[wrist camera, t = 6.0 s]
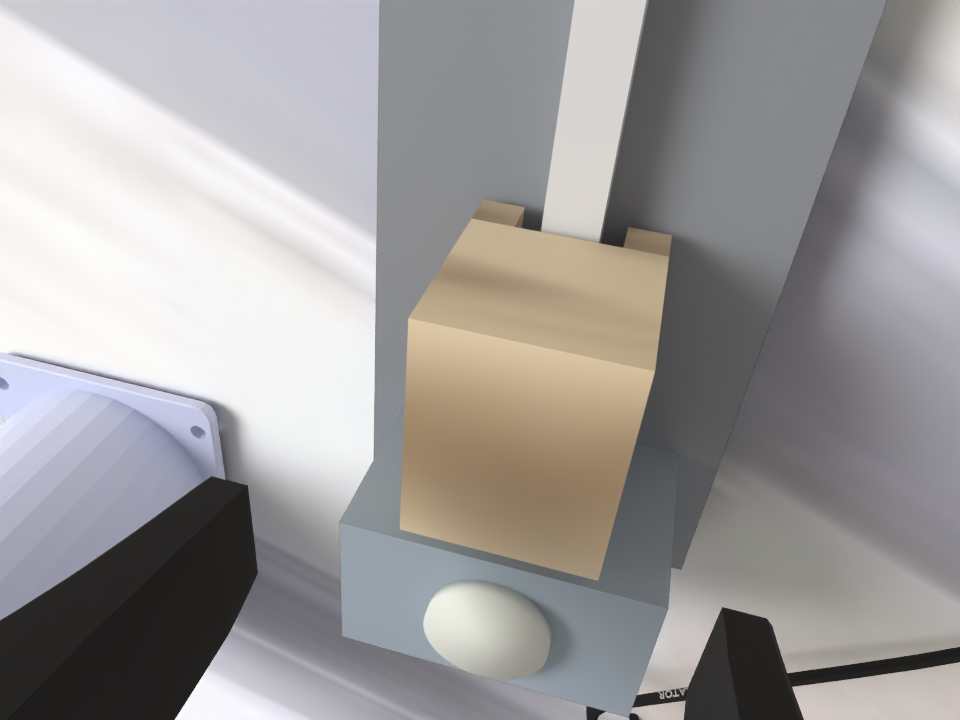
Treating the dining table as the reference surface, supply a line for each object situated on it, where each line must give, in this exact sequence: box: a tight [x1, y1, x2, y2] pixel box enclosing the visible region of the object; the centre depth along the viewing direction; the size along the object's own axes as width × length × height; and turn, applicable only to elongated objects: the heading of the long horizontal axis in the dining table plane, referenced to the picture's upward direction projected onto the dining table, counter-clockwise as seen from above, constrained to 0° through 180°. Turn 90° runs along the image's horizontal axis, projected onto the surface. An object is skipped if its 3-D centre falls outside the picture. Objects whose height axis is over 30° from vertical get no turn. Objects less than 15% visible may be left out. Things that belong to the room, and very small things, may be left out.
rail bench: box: [339, 0, 887, 718], centre depth 14 cm, size 23×9×6 cm, turn 175°
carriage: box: [400, 200, 672, 581], centre depth 16 cm, size 5×4×5 cm
